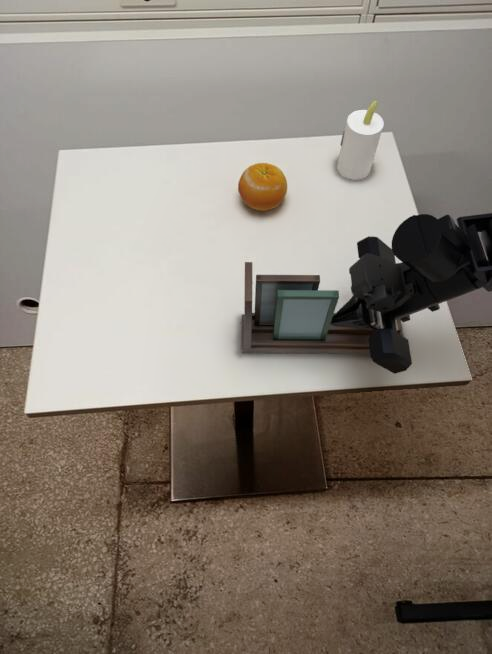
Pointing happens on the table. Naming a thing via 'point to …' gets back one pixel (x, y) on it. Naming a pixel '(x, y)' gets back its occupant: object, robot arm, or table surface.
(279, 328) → the sash
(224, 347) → the table surface
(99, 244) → the table surface
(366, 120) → the candle
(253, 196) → the fruit
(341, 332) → the frame display rack
